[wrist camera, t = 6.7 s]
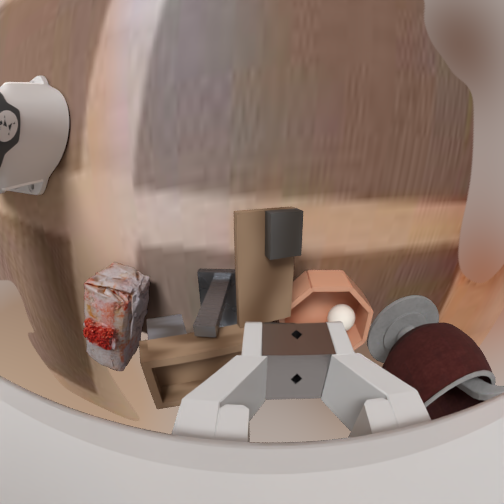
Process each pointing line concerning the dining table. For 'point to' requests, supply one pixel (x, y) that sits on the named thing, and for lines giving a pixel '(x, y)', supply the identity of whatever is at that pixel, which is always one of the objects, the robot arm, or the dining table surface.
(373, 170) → the dining table surface
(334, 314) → the ball
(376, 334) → the mate gourd
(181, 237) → the dining table surface
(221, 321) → the chute stand
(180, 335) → the tipping chute
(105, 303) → the food item
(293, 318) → the octagonal bowl
